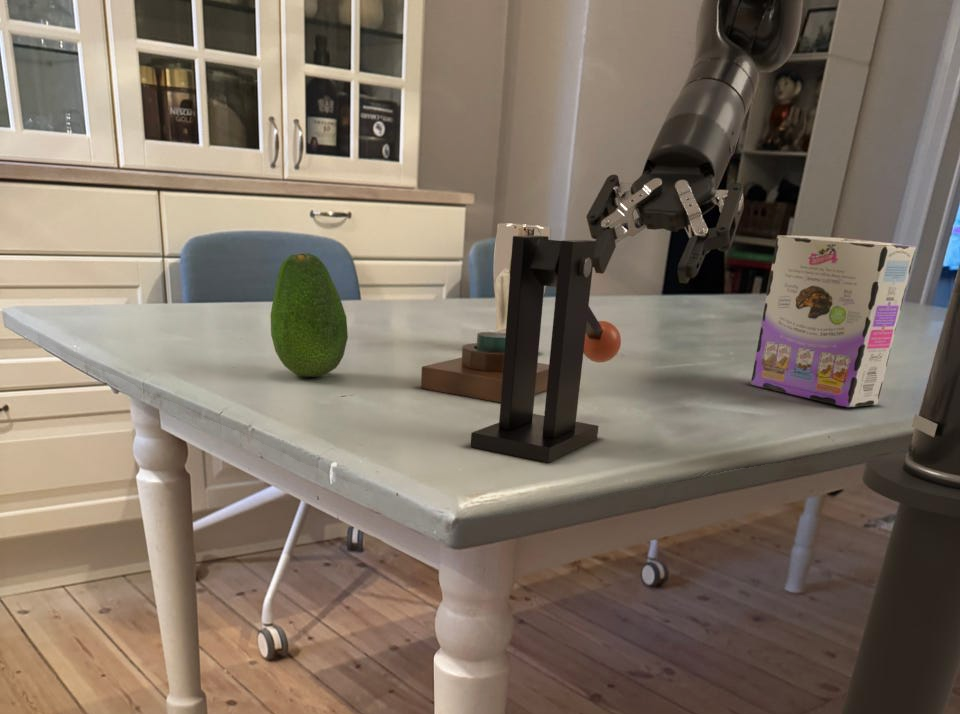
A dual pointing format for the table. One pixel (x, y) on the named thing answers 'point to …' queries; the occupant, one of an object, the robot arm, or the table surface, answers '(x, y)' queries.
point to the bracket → (525, 301)
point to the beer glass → (508, 264)
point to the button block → (474, 375)
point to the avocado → (307, 317)
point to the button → (491, 341)
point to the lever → (599, 334)
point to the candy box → (831, 317)
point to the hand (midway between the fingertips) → (638, 272)
